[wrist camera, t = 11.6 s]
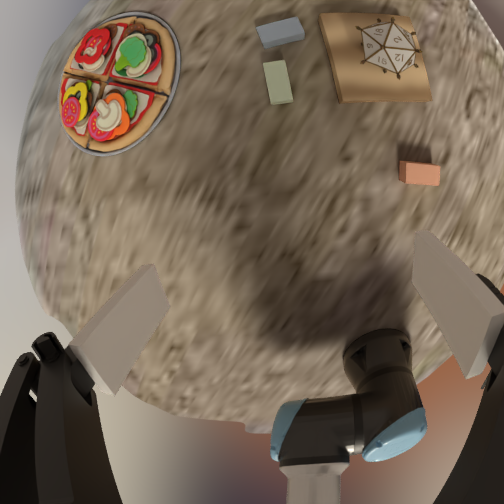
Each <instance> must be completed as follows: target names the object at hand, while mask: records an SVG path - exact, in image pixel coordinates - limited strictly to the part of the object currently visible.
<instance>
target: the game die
mask: <svg viewBox="0 0 504 504" xmlns="http://www.w3.org/2000/svg"><path fill="white" fill-rule="evenodd" d="M394 21H395V19H394V17H392V18H391V22H381V19H379V18H378V19H377V22H379V23H376V24H373V25H370V26H368V27H365V28H363V29H361V28H360V27H359V26H355V27H356V29H358V30H360V31H361V36H362V42H361V45H362V46H363V51H364V59H365V60H362V61H361V62H360V64H364V63H365V62H368V63H371V64H373V65H376V66H378V67H381V68H383V72H384V74H385V73H387V70H388V71H390V72H393V73H395V74H397V78H398V79H399V80H400V78H401V77H400V75H399V73H401V72H403V71H404V70H406V69H407V68H409V67H411V66H412V65H414V67H416V68H419V67H418V65H417V64H415V58H416V52H417V53H421V52H422V51H421V50H420V49H416V47H415V43H414V40H413V37H412V35H416V32H411V33H409V32H408V31H406V30H405V29H403V28H402V27H400V26H399V25H397V24H395V23H394Z"/></svg>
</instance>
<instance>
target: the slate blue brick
mask: <svg viewBox="0 0 504 504" xmlns="http://www.w3.org/2000/svg"><path fill="white" fill-rule="evenodd" d="M256 30H257V32H258V35H259V37H260V39H261V42H262V44H263V46H264V49H267V48H271V47H274V46H278V45H282V44H286V43H290V42H294V41H298V40H303V39H304V36H305V32H304V30H303V28H302V26H301V24H300V22H299V20H298V18H297V17H293V18H289V19H284V20H280V21H276V22H272V23H268V24H265V25H261V26H258V27H256Z"/></svg>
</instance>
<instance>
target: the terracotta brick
mask: <svg viewBox="0 0 504 504" xmlns="http://www.w3.org/2000/svg"><path fill="white" fill-rule="evenodd" d="M439 179H440V166H438V165H435V164H431V163H421V162H411V161H400V163H399V180H400V181H402V182H404V183H409V184H424V185H436V186H439Z"/></svg>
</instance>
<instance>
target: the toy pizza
mask: <svg viewBox="0 0 504 504" xmlns="http://www.w3.org/2000/svg"><path fill="white" fill-rule="evenodd" d="M180 65H181V59H180V49H179V45H178V42H177V39H176V37H175V35H174V33H173V31H172V29H171V28H170V27H169V26H168V25H167V24H166V23H165V22H164V21H163V20H162V19H160V18H158V17H156V16H154V15H152V14H149V13H144V12H128V13H123V14H119V15H116V16H113V17H111V18H109V19H107V20H105V21H103V22H102V23H100V24H99V25H97V26H96V27H94V28H93V29H92V30H90V31H89V32H88V33H87V34H86V35H85V36H84V38H83V39H82V40H81V41H80V42H79V43H78V44H77V46H76V47H75V48H74V50H73V51H72V53H71V55H70V56H69V59H68V61H67V63H66V65H65V67H64V70H63V73H62V76H61V79H60V83H59V89H58V112H59V118H60V121H61V124H62V127H63V129H64V131H65V133H66V135H67V137H68V138H69V139H70V141H71V142H72V143H73V144H74V145H75V146H76V147H77V148H79V149H80V150H82V151H84V152H86V153H88V154H91V155H95V156H110V155H115V154H118V153H121V152H124V151H126V150H128V149H130V148H132V147H133V146H135V145H136V144H138V143H139V142H140V141H142V140H143V139H144V138H145V137H146V136H147V135H148V134H149V133H150V132H151V131H152V130H153V129H154V128H155V127H156V125H157V124H158V123H159V122H160V120H161V119H162V117H163V116H164V114H165V113H166V111H167V109H168V107H169V105H170V103H171V101H172V99H173V97H174V94H175V91H176V88H177V84H178V80H179V75H180Z"/></svg>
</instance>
